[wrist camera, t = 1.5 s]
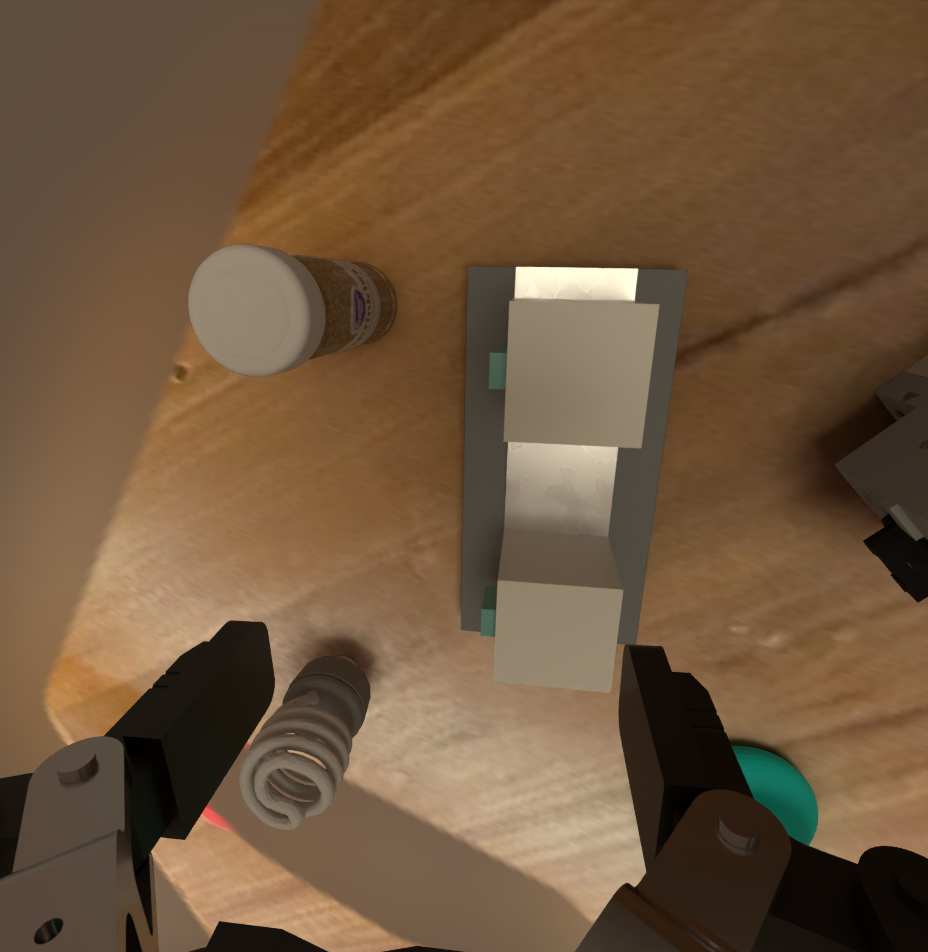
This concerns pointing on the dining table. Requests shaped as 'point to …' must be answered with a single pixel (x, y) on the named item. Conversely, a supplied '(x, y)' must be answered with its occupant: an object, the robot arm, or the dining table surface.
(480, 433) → the mounting board
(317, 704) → the light bulb
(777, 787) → the donuts
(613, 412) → the mounted modules
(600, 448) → the din rail
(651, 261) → the dining table surface
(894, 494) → the circuit breaker
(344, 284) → the sprinkles bottle
